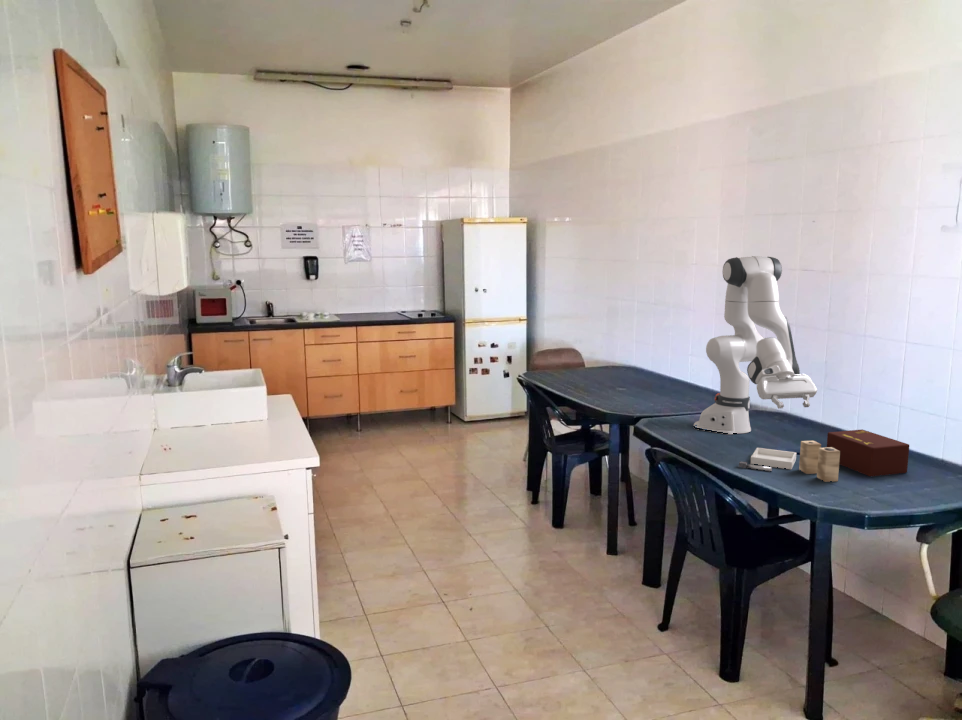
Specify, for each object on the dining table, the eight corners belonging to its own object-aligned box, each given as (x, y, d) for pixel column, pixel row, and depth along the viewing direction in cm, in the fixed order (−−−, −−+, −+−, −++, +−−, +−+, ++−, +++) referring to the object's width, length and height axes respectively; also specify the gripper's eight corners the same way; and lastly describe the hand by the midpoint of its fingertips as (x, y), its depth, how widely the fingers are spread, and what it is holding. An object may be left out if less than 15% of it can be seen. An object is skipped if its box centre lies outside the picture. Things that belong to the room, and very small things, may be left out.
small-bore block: (799, 469, 247) (800, 440, 245) (811, 469, 248) (813, 440, 246) (806, 473, 243) (808, 444, 241) (819, 473, 243) (821, 444, 242)
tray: (750, 463, 254) (750, 457, 253) (756, 454, 265) (757, 447, 265) (791, 469, 247) (791, 462, 247) (796, 459, 259) (796, 452, 258)
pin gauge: (738, 467, 249) (738, 462, 249) (739, 466, 251) (740, 461, 251) (771, 472, 244) (771, 467, 244) (771, 470, 246) (772, 465, 246)
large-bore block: (816, 477, 239) (818, 447, 237) (829, 476, 240) (831, 447, 238) (824, 481, 235) (827, 451, 233) (837, 481, 235) (840, 451, 234)
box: (911, 472, 244) (913, 443, 242) (870, 477, 240) (872, 447, 238) (863, 455, 264) (865, 428, 262) (825, 459, 259) (826, 431, 258)
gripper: (804, 379, 265) (818, 410, 256) (750, 381, 263) (763, 413, 254) (811, 368, 260) (826, 400, 252) (756, 370, 258) (769, 403, 249)
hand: (794, 407), depth 253 cm, fingers open, 8 cm apart
